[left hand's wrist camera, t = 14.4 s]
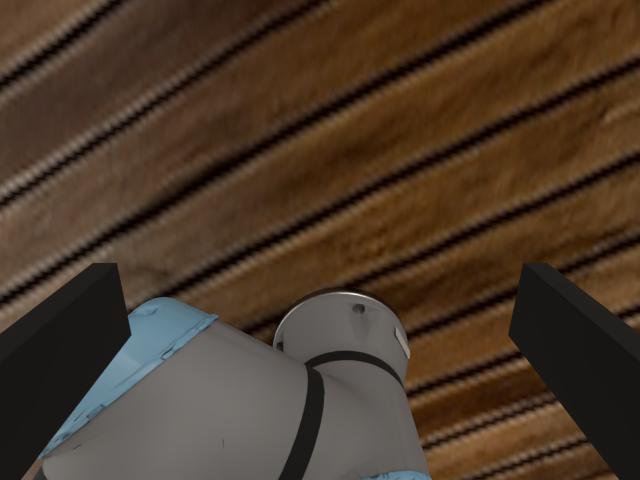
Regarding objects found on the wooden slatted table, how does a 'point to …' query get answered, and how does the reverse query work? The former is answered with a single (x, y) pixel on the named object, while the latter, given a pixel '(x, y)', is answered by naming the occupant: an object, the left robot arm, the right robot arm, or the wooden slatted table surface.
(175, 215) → the wooden slatted table surface
